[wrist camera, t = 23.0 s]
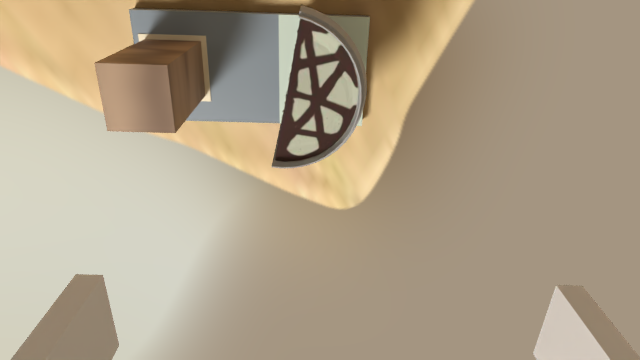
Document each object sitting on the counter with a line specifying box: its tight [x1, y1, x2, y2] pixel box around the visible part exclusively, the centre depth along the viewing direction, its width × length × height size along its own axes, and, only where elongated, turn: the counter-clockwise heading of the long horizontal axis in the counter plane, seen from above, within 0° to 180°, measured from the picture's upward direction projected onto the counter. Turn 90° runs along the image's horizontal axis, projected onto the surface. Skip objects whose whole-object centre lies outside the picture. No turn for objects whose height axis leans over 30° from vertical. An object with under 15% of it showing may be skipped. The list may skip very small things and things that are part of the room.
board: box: [129, 8, 370, 126], centre depth 42 cm, size 21×10×1 cm, turn 88°
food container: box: [272, 5, 367, 168], centre depth 37 cm, size 12×6×10 cm, turn 168°
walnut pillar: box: [95, 39, 206, 133], centre depth 37 cm, size 5×5×10 cm
